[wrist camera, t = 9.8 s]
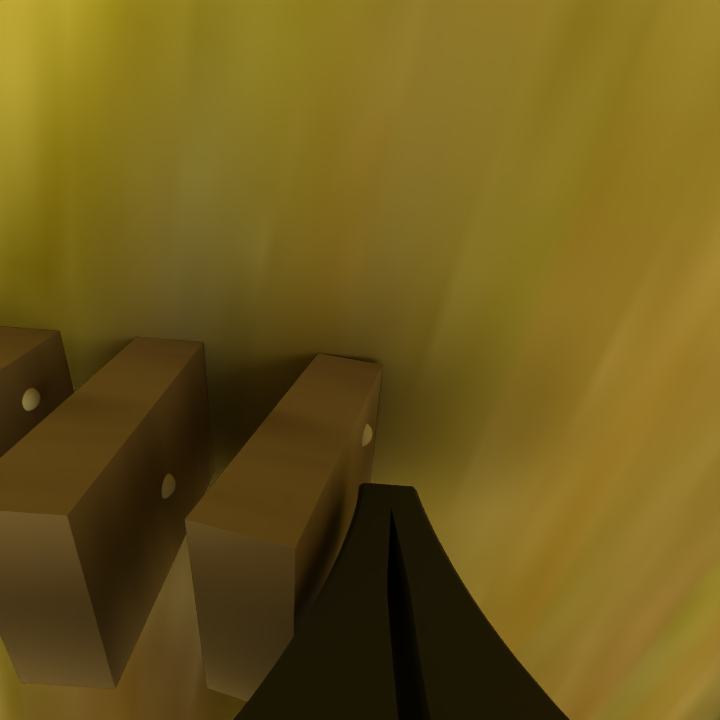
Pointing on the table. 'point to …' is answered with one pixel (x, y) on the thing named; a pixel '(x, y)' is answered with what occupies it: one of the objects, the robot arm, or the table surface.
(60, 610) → the tile
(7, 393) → the tile
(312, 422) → the tile
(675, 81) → the table surface
